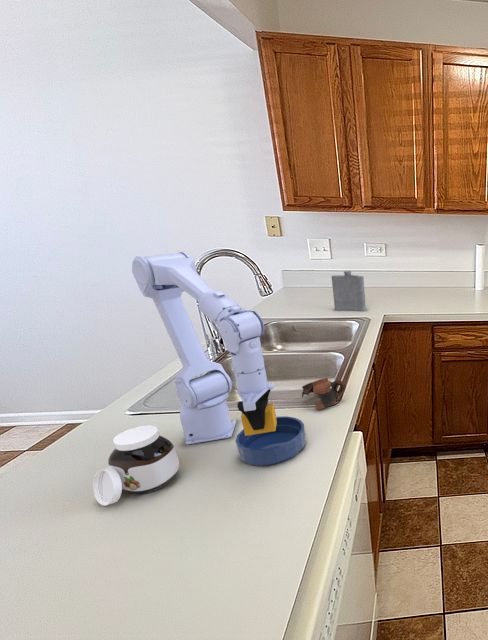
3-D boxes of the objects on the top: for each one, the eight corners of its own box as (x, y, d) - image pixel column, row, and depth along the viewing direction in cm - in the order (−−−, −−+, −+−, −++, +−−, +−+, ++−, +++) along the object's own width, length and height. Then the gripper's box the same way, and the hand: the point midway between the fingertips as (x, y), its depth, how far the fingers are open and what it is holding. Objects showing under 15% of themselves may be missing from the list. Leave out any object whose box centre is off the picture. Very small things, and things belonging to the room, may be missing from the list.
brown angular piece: (306, 415, 109) (295, 387, 109) (312, 413, 118) (302, 387, 118) (349, 398, 112) (339, 371, 112) (351, 397, 121) (342, 372, 121)
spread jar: (188, 470, 86) (175, 424, 82) (149, 509, 75) (132, 458, 71) (131, 470, 85) (115, 423, 81) (83, 509, 75) (62, 458, 70)
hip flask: (334, 310, 204) (329, 271, 197) (336, 308, 207) (332, 270, 200) (365, 311, 204) (362, 272, 197) (367, 308, 208) (364, 270, 201)
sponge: (244, 436, 86) (240, 416, 85) (247, 426, 90) (243, 407, 88) (275, 431, 88) (272, 411, 87) (277, 422, 92) (273, 403, 90)
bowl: (234, 473, 85) (230, 456, 84) (244, 437, 97) (241, 422, 96) (306, 459, 90) (303, 443, 89) (306, 427, 103) (304, 412, 101)
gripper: (267, 380, 79) (277, 437, 84) (273, 353, 91) (282, 405, 96) (226, 384, 76) (239, 444, 81) (238, 357, 89) (249, 410, 94)
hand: (260, 423), depth 89 cm, fingers closed on sponge, 4 cm apart
